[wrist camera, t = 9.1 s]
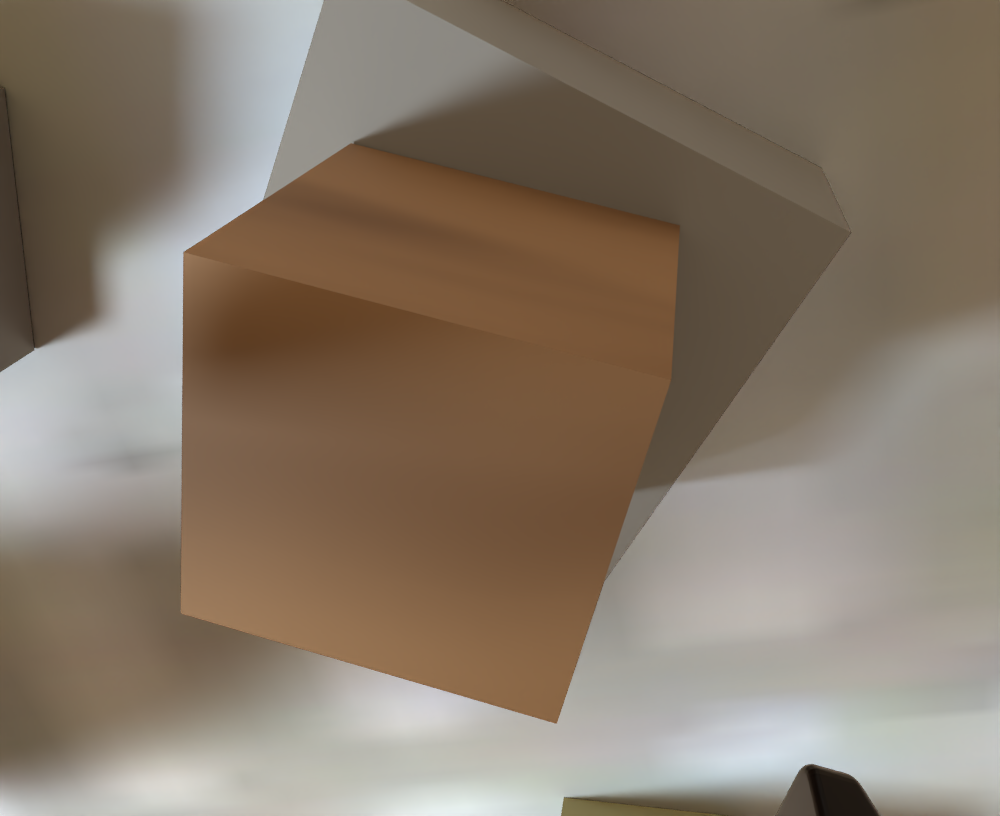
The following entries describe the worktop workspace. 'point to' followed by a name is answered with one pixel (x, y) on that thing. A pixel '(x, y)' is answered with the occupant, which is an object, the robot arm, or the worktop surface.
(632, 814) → the olive cube
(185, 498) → the walnut cube
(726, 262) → the slate base block
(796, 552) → the worktop surface
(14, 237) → the plinth
